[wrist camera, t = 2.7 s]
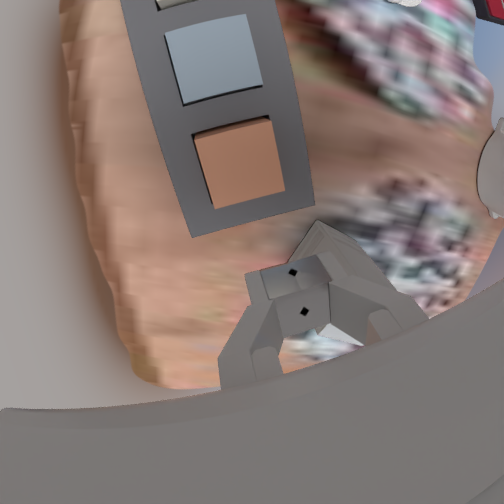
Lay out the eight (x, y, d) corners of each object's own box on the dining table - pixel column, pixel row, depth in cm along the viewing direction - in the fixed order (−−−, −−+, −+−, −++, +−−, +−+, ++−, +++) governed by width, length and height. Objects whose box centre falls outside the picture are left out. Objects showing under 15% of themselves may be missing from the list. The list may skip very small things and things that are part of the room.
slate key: (239, 25, 20) (245, 13, 16) (253, 85, 23) (263, 84, 19) (171, 41, 19) (164, 32, 16) (187, 101, 23) (183, 103, 19)
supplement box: (284, 264, 38) (314, 336, 27) (316, 217, 35) (363, 279, 24) (325, 281, 41) (362, 348, 30) (357, 240, 38) (406, 300, 27)
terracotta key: (261, 115, 24) (271, 120, 21) (273, 175, 28) (285, 190, 24) (195, 132, 24) (194, 140, 21) (213, 191, 28) (214, 209, 24)
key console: (238, -59, 16) (246, -84, 11) (296, 184, 32) (315, 205, 27) (124, -32, 16) (110, -52, 11) (193, 212, 32) (191, 238, 27)
